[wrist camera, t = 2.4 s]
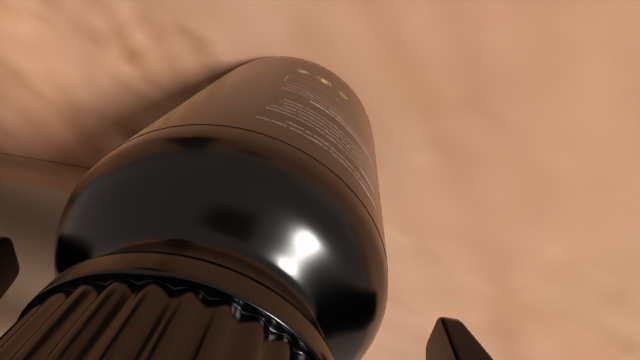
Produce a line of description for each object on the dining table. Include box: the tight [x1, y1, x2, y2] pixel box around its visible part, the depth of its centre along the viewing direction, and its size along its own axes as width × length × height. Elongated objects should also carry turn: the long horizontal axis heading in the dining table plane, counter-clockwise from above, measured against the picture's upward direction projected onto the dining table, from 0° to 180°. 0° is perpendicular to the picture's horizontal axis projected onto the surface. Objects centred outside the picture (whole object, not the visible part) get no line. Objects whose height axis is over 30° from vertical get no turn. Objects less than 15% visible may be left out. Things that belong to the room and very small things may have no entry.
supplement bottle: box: [0, 56, 388, 360], centre depth 10 cm, size 7×7×12 cm
